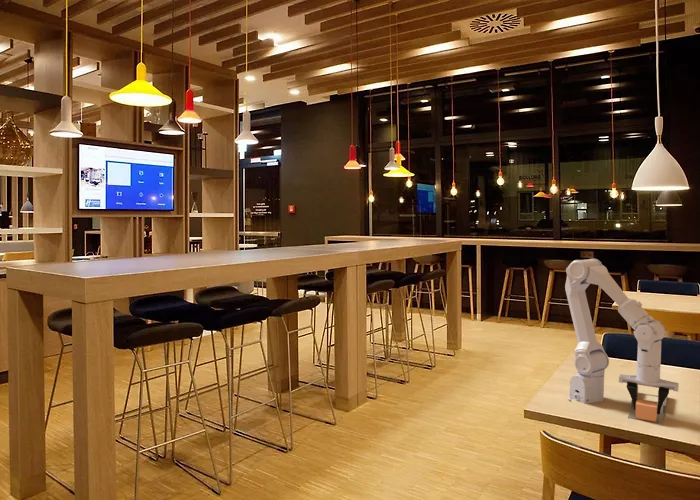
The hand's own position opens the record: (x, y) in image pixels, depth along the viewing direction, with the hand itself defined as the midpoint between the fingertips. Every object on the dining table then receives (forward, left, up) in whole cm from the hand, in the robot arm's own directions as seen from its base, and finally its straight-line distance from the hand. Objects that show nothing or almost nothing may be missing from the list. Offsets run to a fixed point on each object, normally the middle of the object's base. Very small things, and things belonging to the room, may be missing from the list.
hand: (646, 411), depth 147 cm
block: (-2, -2, -1) cm, 3 cm away
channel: (+6, +4, -2) cm, 8 cm away
